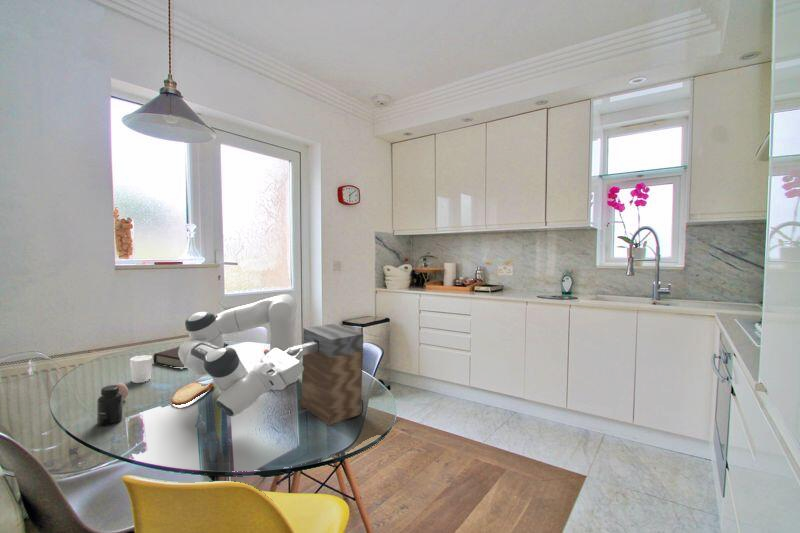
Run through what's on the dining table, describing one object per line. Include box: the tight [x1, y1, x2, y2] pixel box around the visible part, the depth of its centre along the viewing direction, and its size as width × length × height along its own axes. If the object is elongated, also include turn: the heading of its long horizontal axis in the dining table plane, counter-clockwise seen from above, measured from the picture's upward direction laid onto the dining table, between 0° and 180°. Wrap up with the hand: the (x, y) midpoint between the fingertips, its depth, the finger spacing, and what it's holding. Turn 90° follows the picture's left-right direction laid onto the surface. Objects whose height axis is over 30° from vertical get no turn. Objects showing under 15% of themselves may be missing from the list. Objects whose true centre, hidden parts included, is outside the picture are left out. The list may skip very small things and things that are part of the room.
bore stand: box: [301, 323, 364, 426], centre depth 138 cm, size 14×20×31 cm
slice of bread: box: [170, 381, 215, 405], centre depth 146 cm, size 18×18×4 cm
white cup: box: [129, 354, 153, 384], centre depth 159 cm, size 8×8×10 cm
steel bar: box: [288, 340, 319, 357], centre depth 132 cm, size 18×3×3 cm, turn 132°
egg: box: [114, 382, 129, 401], centre depth 138 cm, size 5×5×7 cm
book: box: [152, 343, 229, 368], centre depth 190 cm, size 28×20×6 cm
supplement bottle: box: [96, 384, 124, 427], centre depth 123 cm, size 7×7×12 cm
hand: (300, 348), depth 129 cm, fingers closed on steel bar, 3 cm apart
